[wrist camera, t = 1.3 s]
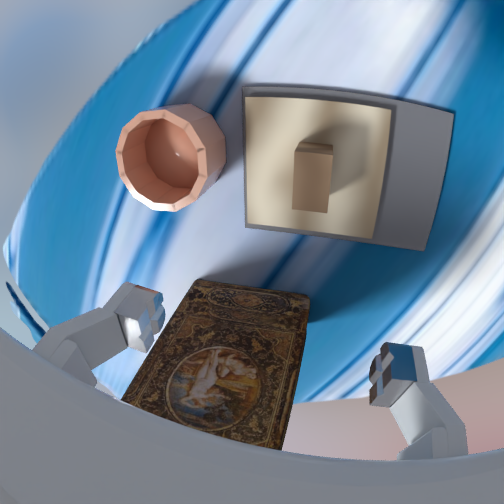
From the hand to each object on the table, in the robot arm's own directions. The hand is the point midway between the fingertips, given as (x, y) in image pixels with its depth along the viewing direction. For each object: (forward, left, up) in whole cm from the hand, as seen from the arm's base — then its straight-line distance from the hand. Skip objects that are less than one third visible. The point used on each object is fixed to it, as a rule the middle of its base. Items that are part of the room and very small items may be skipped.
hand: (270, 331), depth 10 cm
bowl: (+14, -1, -21) cm, 25 cm away
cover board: (0, 0, -21) cm, 21 cm away
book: (+7, +19, -21) cm, 29 cm away
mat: (-3, 0, -21) cm, 21 cm away
